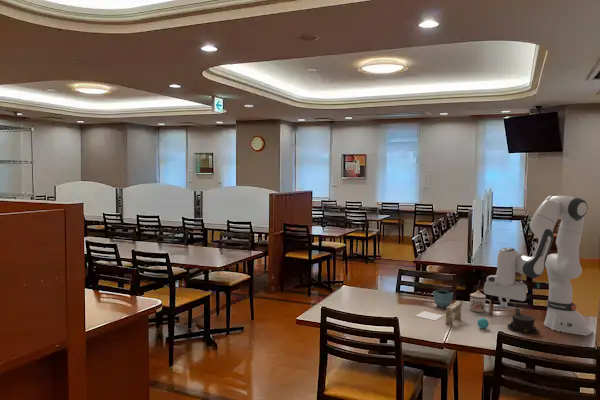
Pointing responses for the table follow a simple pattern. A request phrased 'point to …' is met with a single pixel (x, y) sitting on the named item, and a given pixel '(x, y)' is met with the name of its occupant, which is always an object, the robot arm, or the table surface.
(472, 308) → the teacup with lid
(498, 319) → the table surface
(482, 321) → the ball
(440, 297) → the flower pot
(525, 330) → the top hat
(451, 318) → the bridge
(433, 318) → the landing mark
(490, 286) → the robot arm
